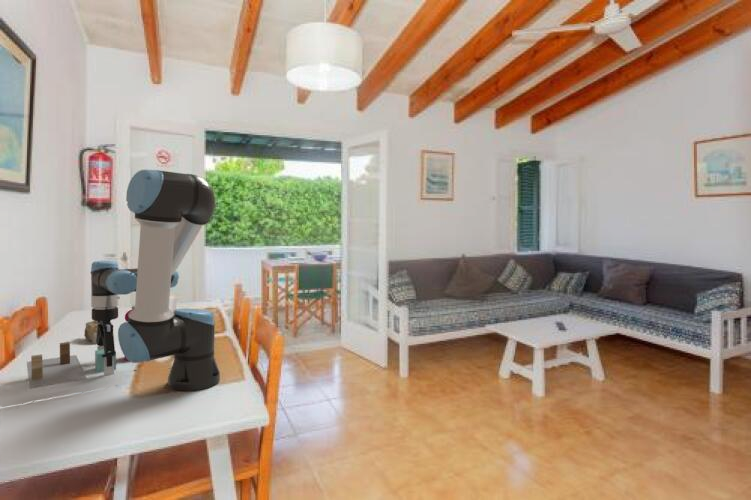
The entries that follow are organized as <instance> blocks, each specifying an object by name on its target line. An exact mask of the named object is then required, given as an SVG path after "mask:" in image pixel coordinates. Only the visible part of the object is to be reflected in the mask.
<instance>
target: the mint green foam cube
mask: <svg viewBox="0 0 751 500" xmlns="http://www.w3.org/2000/svg"><path fill="white" fill-rule="evenodd" d="M94 352H95V353H94V355H95V356H94V363H95V365H94V366H95V367H94V368H95V370H96V372H97V373H104V357H103V358H102V355H104V349H103V350H97V349H96V350H95V351H94ZM115 370H117V351H116V350H115V355H114V371H115Z"/></svg>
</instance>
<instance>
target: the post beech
mask: <svg viewBox="0 0 751 500" xmlns="http://www.w3.org/2000/svg"><path fill="white" fill-rule="evenodd" d="M30 356H31V358H30V359H31V360H30V361H31V368H32V380H37V379H43V369H42V360H43V355H42V354H35V355H30Z"/></svg>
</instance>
